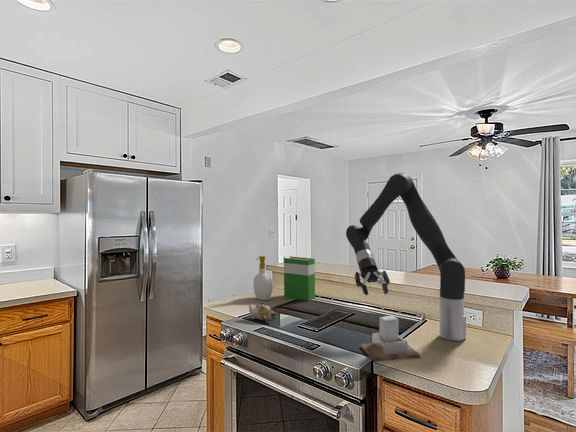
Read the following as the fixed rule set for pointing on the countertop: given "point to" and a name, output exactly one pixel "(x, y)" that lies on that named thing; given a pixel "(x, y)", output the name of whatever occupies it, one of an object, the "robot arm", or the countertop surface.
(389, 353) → the steel slot collar
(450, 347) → the countertop surface
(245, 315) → the countertop surface
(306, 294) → the green cereal box
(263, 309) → the ceramic sculpture
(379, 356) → the walnut board
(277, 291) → the countertop surface
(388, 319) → the skincare box
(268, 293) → the soap bottle
